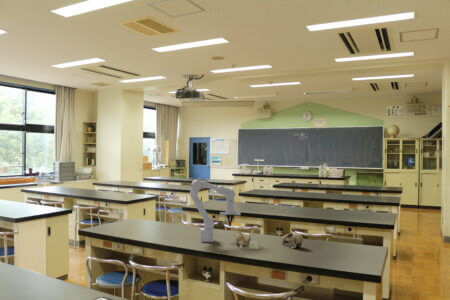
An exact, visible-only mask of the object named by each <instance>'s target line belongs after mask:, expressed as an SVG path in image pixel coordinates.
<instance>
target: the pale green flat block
mask: <svg viewBox="0 0 450 300" xmlns="http://www.w3.org/2000/svg"><path fill="white" fill-rule="evenodd" d="M238 244H239V249H241V250H242V249H243V250H245V249H247V250H248V249H249V250H259V249H260V247H259V246H260V245H259V244H258V241H257V240H250V243H249V246H247V245H244V244H240V243H238Z"/></svg>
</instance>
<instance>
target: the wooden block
mask: <svg viewBox="0 0 450 300" xmlns="http://www.w3.org/2000/svg"><path fill="white" fill-rule="evenodd" d="M234 241H235V243H238V244H239V243H240V244H244V245H247V246H249V243H250V241H251V235H248V234H244V233H243V232H236V234H235V239H234Z"/></svg>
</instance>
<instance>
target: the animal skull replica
mask: <svg viewBox="0 0 450 300" xmlns="http://www.w3.org/2000/svg"><path fill="white" fill-rule="evenodd" d="M281 241H282V242H281V244H282V245H283V246H287V247H288V246H289V248H290V249H294V250H295V249H296V248H297V247H302V245H303V242H304V237H303V236H302V235H301V234H300V233H299V232H295V231H293V232H289V233H287V234H286V235H283V236H282V240H281Z"/></svg>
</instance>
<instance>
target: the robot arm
mask: <svg viewBox="0 0 450 300" xmlns="http://www.w3.org/2000/svg"><path fill="white" fill-rule="evenodd" d="M204 188H206V189H210V190H213V191H216V193H217V194H218V195H222V196H225V197H226V200H225V201H226V204H225V207H226V210H225V211H220V212H219V216H226V218H227V221H228V226H232V224H233V220H234V218H235V216H239V217H240V216H241V212H239V211H235V196H236V193H235V191H234V190H233V189H231V188H230V187H226V186H224V185H218V186H217V185H215V184H212V183H211V182H210V183H209V182H208V181H205V180H204V181H203V180H198V179H194V180H192V181H191V184H190V190H189V196H190V198H191V199H192V201H193V203H194V205H195V208H196V209H197V211H198V213H199V214H200V216H201V217H202V220H203V224H204V226H203V227H200V234H199V235H200V236H199V240H200V243H201V242H202V243H215V238H214V236H215V227H214V226H215V222H214V220H213V219H212V218H211V217H210V216H209V214H208V212H207V211H206V208H205V206H204V205H203V203H202V201H201V199H200V197H199V195H198V194H199V191H200V190H201V189H204Z"/></svg>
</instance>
